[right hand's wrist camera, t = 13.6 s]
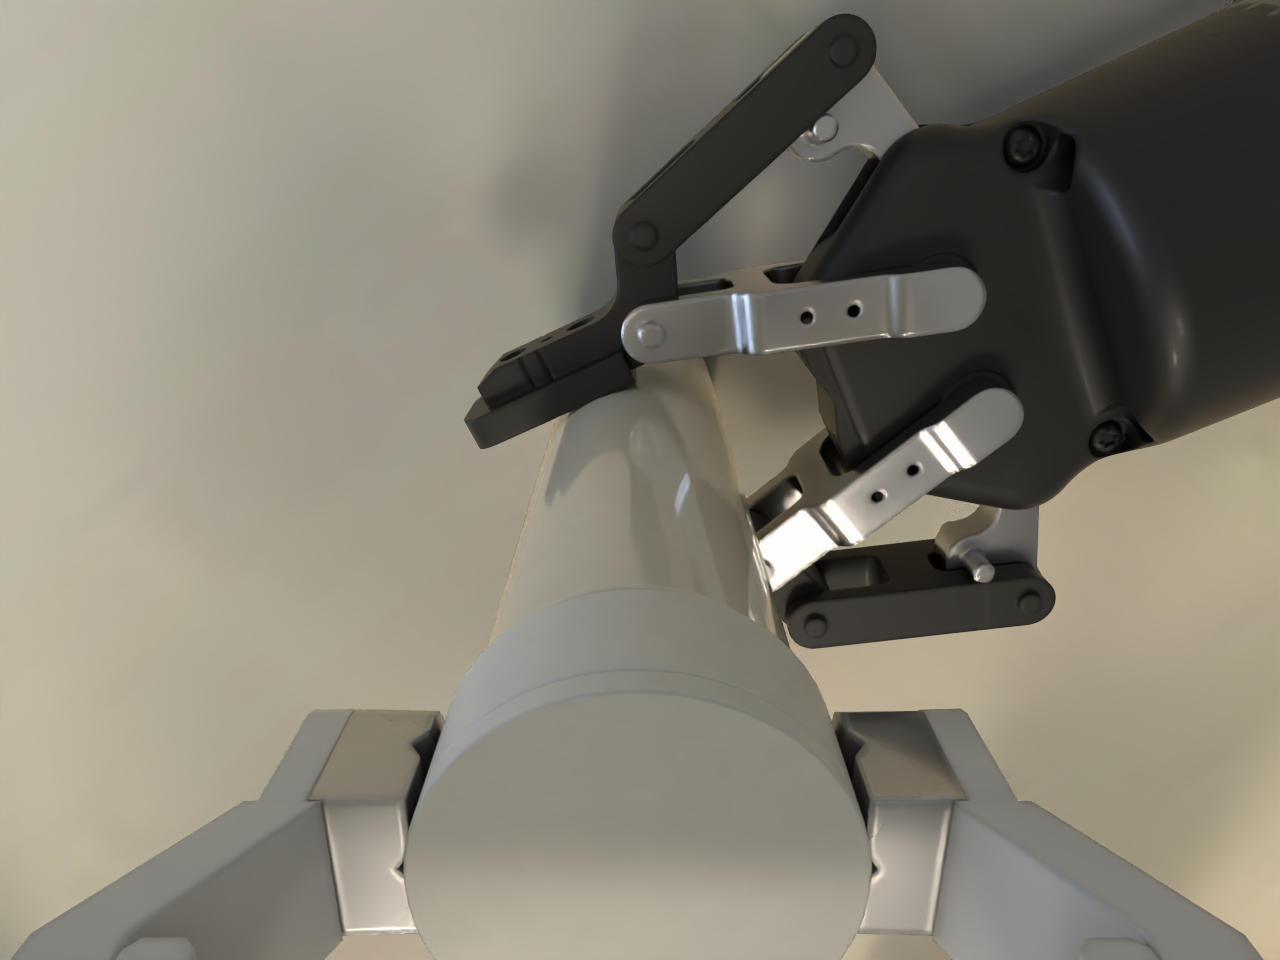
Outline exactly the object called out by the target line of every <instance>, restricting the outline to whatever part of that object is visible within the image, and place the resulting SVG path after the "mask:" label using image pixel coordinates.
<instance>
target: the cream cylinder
mask: <svg viewBox="0 0 1280 960" xmlns="http://www.w3.org/2000/svg"><path fill="white" fill-rule="evenodd" d="M634 589H648V590H660V591H671V592H676V593H681V594H686V595H691V596H696V597H700V598H703V599H706V600H709V601H712V602H715V603H718V604H721V605H724V606H726V607H728V608H730V609H732V610H734V611H736V612H738V613H740V614H742V615H744V616H747V617H748V618H750V619H752V620H753V621H755V622H756V623H758V624H759V625H761V626H762V627H764V628H765V629H767V630H768V631H770V632H771V633H772V634H773V635H775V636H776V637H777V638H778V639H779V640H780V641H782V642H783V643H784V644H785V645H786V646H787V647H789V643H788V640H787V637H786V633H785V630H784V626H783V623H782V620H781V616H780V613H779V609H778V606H777V603H776V599H775V596H774V592H773V589H772V586H771V582H770V579H769V576H768V572H767V569H766V565H765V562H764V559H763V555H762V552H761V548H760V545H759V542H758V538H757V535H756V531H755V528H754V525H753V521H752V518H751V514H750V511H749V508H748V504H747V501H746V497H745V494H744V491H743V487H742V484H741V480H740V477H739V474H738V470H737V467H736V463H735V460H734V457H733V453H732V450H731V446H730V443H729V440H728V436H727V433H726V429H725V426H724V423H723V419H722V416H721V413H720V409H719V406H718V402H717V399H716V396H715V392H714V389H713V385H712V382H711V379H710V375H709V372H708V369H707V366H706V363H705V361H704V359H703V357H702V358H694V359H687V360H680V361H673V362H666V363H659V364H644V365H642V366H640V367H637V368H636V383H633V384H631V385H629V386H627V387H624V388H622V389H620V390H618V391H615V392H613V393H611V394H609V395H607V396H604V397H601V398H598V399H596V400H594V401H592V402H590V403H588V404H586V405H584V406H582V407H580V408H577V409H575V410H573V411H571V412H568V413H566V414H564V415H562V416H559V417H557V418H556V419H555V422H554V425H553V429H552V432H551V435H550V439H549V442H548V445H547V449H546V452H545V455H544V459H543V462H542V465H541V469H540V472H539V475H538V479H537V482H536V485H535V489H534V492H533V495H532V499H531V502H530V505H529V509H528V512H527V515H526V519H525V522H524V525H523V529H522V532H521V535H520V539H519V542H518V545H517V549H516V552H515V555H514V558H513V562H512V565H511V568H510V572H509V575H508V578H507V582H506V585H505V588H504V592H503V595H502V598H501V602H500V605H499V608H498V612H497V615H496V618H495V622H494V625H493V628H492V632H491V635H490V638H489V642H488V645H487V648H488V647H489V646H490V645H491V644H492V643H493V642H494V641H495V640H496V639H497V638H498V637H500V636H501V635H502V634H504V633H505V632H506V631H508V630H509V629H510V628H512V627H513V626H514V625H516V624H517V623H519V622H521V621H523V620H525V619H526V618H528V617H530V616H532V615H534V614H535V613H537V612H539V611H541V610H543V609H546V608H548V607H551V606H553V605H556V604H558V603H561V602H563V601H566V600H570V599H573V598H577V597H581V596H585V595H588V594H593V593H600V592H607V591H614V590H634ZM487 648H486V649H487ZM789 648H790V647H789Z"/></svg>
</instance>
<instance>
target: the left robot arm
mask: <svg viewBox="0 0 1280 960" xmlns="http://www.w3.org/2000/svg"><path fill="white" fill-rule="evenodd" d="M875 57H876V39H875V36H874V33H873V31H872V29H871V28H870V26H869V25H868V24H867V23H866V22H865V21H864V20H863V19H861V18H860V17H858V16H855V15H851V14H839V15H836V16H833V17H831V18H829V19H827V20H826V21H824V22H822V23H821V24H819V25H818V26H816V27H815V28H813V29H811V30H810V31H808V32H807V33H805V34H803V35H802V36H801V37H800V38H799V39H797V40H796V41H795V42H794V43H793V44H792V45H791V46H790V47H789V48H788V49H787V50H786V51H785V52H784V53H783V54H782V55H781V56H779V57H778V58H777V59H776V60H775V61H774V62H773V63H772V64H771V65H770V66H769V67H768V68H767V69H766V70H765V71H764V72H763V73H762V74H760V75H759V76H758V77H757V78H756V79H755V80H754V81H753V82H752V83H751V84H750V85H749V86H748V87H747V88H746V89H745V90H744V91H743V92H741V93H740V94H739V95H738V96H737V97H736V98H735V99H734V100H733V101H732V102H731V103H730V104H729V105H728V106H727V107H726V108H725V109H723V110H722V111H721V112H720V113H719V114H718V115H717V116H716V117H715V118H714V119H713V120H712V121H711V122H710V123H709V124H708V125H707V126H706V127H704V128H703V129H702V130H701V131H700V132H699V133H698V134H697V135H696V136H695V137H694V138H693V139H692V140H691V141H690V142H689V143H688V144H686V145H685V146H684V147H683V148H682V149H681V150H680V151H679V152H678V153H677V154H676V155H675V156H674V157H673V158H672V159H671V160H670V161H669V162H667V163H666V164H665V165H664V166H663V167H662V168H661V169H660V170H659V171H658V172H657V173H656V174H655V175H654V176H653V177H652V178H651V179H650V180H648V181H647V182H646V183H645V184H644V185H643V186H642V187H641V188H640V189H639V190H638V191H637V192H636V193H635V194H634V195H633V196H632V197H630V198H629V199H628V200H627V201H626V202H625V203H624V204H623V205H622V207H621V208H620V210H619V211H618V214H617V217H616V220H615V223H614V227H613V233H612V239H613V244H614V250H615V262H616V273H617V291H616V293H615V295H614V296H613V298H612V299H611V301H610V302H609V303H608V304H607V305H606V306H604V307H603V308H601V309H600V310H598V311H596V312H593V313H591V314H589V315H587V316H585V317H583V318H581V319H578V320H576V321H574V322H572V323H570V324H568V325H565V326H563V327H561V328H559V329H557V330H555V331H552V332H550V333H548V334H546V335H544V336H542V337H539V338H537V339H535V340H533V341H531V342H529V343H527V344H524V345H522V346H520V347H518V348H516V349H514V350H511V351H509V352H507V353H505V354H503V355H502V356H501V358H500V359H499V360H498V361H497V362H496V363H495V364H494V365H493V366H492V367H491V369H490V370H489V371H488V372H487V374H486V375H485V377H484V378H483V380H482V381H481V383H480V384H479V386H478V387H477V388H478V390H479V392H480V394H481V395H482V397H480V398H479V399H478V400H477V401H475V403H474V404H473V406H472V407H471V409H470V411H469V412H468V414H467V415H466V417H465V419H464V421H465V423H466V425H467V426H468V428H469V430H470V432H471V434H472V435H473V437H474V439H475V441H476V443H477V444H478V446H479V448H480V449H485V448H489V447H492V446H494V445H497V444H499V443H501V442H503V441H506V440H508V439H510V438H512V437H515V436H517V435H519V434H521V433H524V432H526V431H528V430H530V429H533V428H535V427H537V426H539V425H542V424H544V423H546V422H548V421H551V420H553V419H555V418H557V417H559V416H562V415H564V414H566V413H568V412H571V411H573V410H575V409H577V408H580V407H582V406H584V405H586V404H588V403H590V402H592V401H594V400H596V399H598V398H601V397H604V396H607V395H609V394H611V393H613V392H615V391H618V390H620V389H622V388H624V387H627V386H629V385H631V384H633V383H636V368H637V367H640V366H642V365H644V364H659V363H666V362H673V361H680V360H687V359H694V358H702V357H709V356H716V355H723V354H730V353H743V354H748V355H766V354H774V353H781V352H788V351H796V353H797V354H798V355H799V357H800V358H801V359H802V361H803V362H804V364H805V365H806V366H807V368H808V369H809V370H810V372H811V373H812V374H813V376H814V377H815V378H816V382H817V392H818V402H819V412H820V414H821V417H822V419H823V422H824V424H825V427H826V428H824V429H823V430H822V431H821V432H819V433H818V434H817V435H816V436H814V437H813V438H812V439H810V440H809V441H808V442H807V443H805V444H804V445H803V446H802V447H800V448H799V449H798V450H797V451H796V452H795V453H794V454H793V456H792V457H791V459H790V460H789V463H788V465H787V466H786V468H785V469H784V470H783V471H782V472H781V473H779V474H778V475H777V476H775V477H774V478H773V479H772V480H770V481H769V482H768V483H766V484H765V485H764V486H763V487H761V488H760V489H759V490H757V491H756V492H755V493H754V494H752V495H751V496H750V497H749V498H747V499H746V501H747V504H748V508H749V511H750V514H751V518H752V521H753V525H754V528H755V531H756V535H757V538H758V542H759V545H760V548H761V552H762V555H763V559H764V562H765V565H766V569H767V572H768V576H769V579H770V582H771V586H772V589H773V592H774V596H775V599H776V603H777V606H778V609H779V613H780V616H781V619H782V620H783V621H784V622H785V623H786V624H787V627H788V630H789V633H790V636H791V638H792V639H793V640H794V641H795V642H796V643H797V644H799V645H800V646H802V647H805V648H811V649H815V648H825V647H834V646H843V645H852V644H861V643H870V642H879V641H888V640H897V639H906V638H915V637H924V636H932V635H941V634H950V633H959V632H968V631H977V630H986V629H995V628H1004V627H1013V626H1022V625H1030V624H1034V623H1037V622H1039V621H1041V620H1042V619H1044V618H1045V617H1046V616H1047V615H1048V614H1049V613H1050V612H1051V610H1052V609H1053V607H1054V604H1055V598H1056V596H1055V591H1054V589H1053V587H1052V586H1051V585H1050V584H1049V583H1048V581H1047V580H1046V579H1045V578H1044V577H1043V576H1042V575H1041V573H1040V571H1039V570H1038V568H1037V546H1038V517H1039V505H1041V504H1043V503H1045V502H1047V501H1049V500H1050V499H1052V498H1053V497H1055V496H1056V495H1057V494H1058V493H1059V492H1060V491H1061V490H1062V489H1063V488H1064V487H1065V486H1066V485H1067V484H1068V483H1069V482H1070V481H1071V480H1072V479H1073V478H1074V477H1075V476H1076V475H1077V474H1078V473H1080V472H1081V471H1082V470H1084V469H1085V468H1086V467H1088V466H1089V465H1091V464H1092V463H1094V462H1095V461H1097V460H1099V459H1102V458H1104V457H1107V456H1110V455H1114V454H1119V453H1123V452H1127V451H1132V450H1136V449H1141V448H1146V447H1151V446H1155V445H1159V444H1162V443H1165V442H1168V441H1171V440H1174V439H1176V438H1179V437H1181V436H1184V435H1186V434H1189V433H1191V432H1194V431H1196V430H1199V429H1201V428H1204V427H1206V426H1209V425H1211V424H1214V423H1216V422H1219V421H1221V420H1224V419H1226V418H1229V417H1232V416H1234V415H1237V414H1239V413H1242V412H1244V411H1247V410H1249V409H1252V408H1254V407H1257V406H1259V405H1262V404H1264V403H1267V402H1269V401H1272V400H1274V399H1277V398H1279V397H1280V0H1234V1H1233V2H1232V4H1231V5H1229V6H1228V7H1226V8H1224V9H1222V10H1220V11H1218V12H1216V13H1214V14H1211V15H1209V16H1207V17H1205V18H1203V19H1201V20H1199V21H1196V22H1194V23H1192V24H1190V25H1188V26H1186V27H1184V28H1181V29H1179V30H1177V31H1175V32H1173V33H1171V34H1169V35H1166V36H1164V37H1162V38H1160V39H1158V40H1155V41H1153V42H1151V43H1149V44H1147V45H1145V46H1143V47H1140V48H1138V49H1136V50H1134V51H1132V52H1130V53H1128V54H1125V55H1123V56H1121V57H1119V58H1117V59H1115V60H1113V61H1110V62H1108V63H1106V64H1104V65H1102V66H1100V67H1098V68H1095V69H1093V70H1091V71H1089V72H1087V73H1085V74H1083V75H1080V76H1078V77H1076V78H1074V79H1072V80H1070V81H1068V82H1065V83H1063V84H1061V85H1059V86H1057V87H1055V88H1053V89H1050V90H1048V91H1046V92H1044V93H1042V94H1040V95H1038V96H1035V97H1033V98H1031V99H1029V100H1027V101H1025V102H1023V103H1020V104H1018V105H1016V106H1014V107H1012V108H1010V109H1008V110H1005V111H1003V112H1001V113H999V114H997V115H995V116H993V117H990V118H988V119H985V120H983V121H980V122H976V123H973V124H968V125H963V126H956V125H948V124H932V125H917V124H916V122H915V121H914V120H913V118H912V117H911V116H910V114H909V113H908V111H907V110H906V109H905V107H904V106H903V105H902V103H901V102H900V101H899V99H898V98H897V96H896V95H895V94H894V92H893V91H892V90H891V88H890V87H889V85H888V84H887V83H886V81H885V80H884V79H883V77H882V76H881V74H880V73H879V72H878V70H877V69H876V68H875V66H874V65H873V64H874V61H875ZM849 148H855V149H857V150H859V151H861V152H862V153H864V154H865V155H866V156H867V157H868V158H869V159H868V160H867V162H866V164H865V165H864V167H863V168H862V170H861V172H860V173H859V175H858V176H857V178H856V180H855V181H854V183H853V185H852V186H851V188H850V189H849V191H848V193H847V194H846V196H845V198H844V199H843V201H842V202H841V204H840V206H839V207H838V209H837V211H836V212H835V214H834V215H833V217H832V219H831V220H830V222H829V224H828V225H827V227H826V228H825V230H824V232H823V233H822V235H821V236H820V238H819V240H818V241H817V243H816V245H815V246H814V248H813V249H812V251H811V253H810V254H809V256H808V258H807V259H802V260H795V261H788V262H781V263H774V264H768V265H761V266H754V267H747V268H741V269H735V270H731V271H728V272H726V273H724V274H720V275H716V276H709V277H702V278H695V279H688V280H682V281H677V266H676V249H677V248H678V247H679V246H681V245H682V244H683V243H684V242H685V241H686V240H687V239H688V238H689V237H690V236H691V235H693V234H694V233H695V232H696V231H697V230H698V229H699V228H700V227H701V226H702V225H704V224H705V223H706V222H707V221H708V220H709V219H710V218H711V217H712V216H713V215H715V214H716V213H717V212H718V211H719V210H720V209H721V208H722V207H723V206H724V205H725V204H727V203H728V202H729V201H730V200H731V199H732V198H733V197H734V196H735V195H736V194H738V193H739V192H740V191H741V190H742V189H743V188H744V187H745V186H746V185H747V184H748V183H750V182H751V181H752V180H753V179H754V178H755V177H756V176H757V175H758V174H759V173H761V172H762V171H763V170H764V169H765V168H766V167H767V166H768V165H769V164H770V163H772V162H773V161H774V160H775V159H776V158H777V157H778V156H779V155H780V154H781V153H782V152H784V151H785V150H786V151H787V152H788V153H789V154H790V155H791V156H793V157H794V158H796V159H799V160H803V161H811V162H821V161H825V160H827V159H829V158H831V157H833V156H834V155H836V154H837V153H839V152H841V151H843V150H845V149H849ZM874 492H875V493H874ZM925 494H927V495H932V496H938V497H943V498H948V499H954V500H959V501H964V502H969V503H975V504H980V505H979V507H978V508H977V510H976V511H975V512H974V513H972V514H971V515H970V516H968V517H966V518H964V519H960V520H956V521H949V522H946V523H944V524H943V525H942V526H941V528H940V531H939V533H938V534H937V536H936V538H935V539H929V540H921V541H912V542H903V543H895V544H886V545H878V546H869V547H860V548H852V549H843V550H835V551H830V550H832V549H833V548H835V547H838V546H852V545H855V544H857V543H859V542H861V541H862V540H864V539H865V538H867V537H868V536H869V535H871V534H872V533H873V532H875V531H876V530H877V529H879V528H880V527H882V526H883V525H884V524H886V523H887V522H888V521H890V520H891V519H892V518H894V517H895V516H896V515H898V514H899V513H901V512H902V511H903V510H905V509H906V508H907V507H909V506H910V505H911V504H913V503H914V502H915V501H917V500H918V499H920V498H921V497H922V496H924V495H925Z"/></svg>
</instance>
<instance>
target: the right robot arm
mask: <svg viewBox="0 0 1280 960" xmlns="http://www.w3.org/2000/svg"><path fill="white" fill-rule="evenodd" d="M443 725H444V717H443V716H442V714H441V713H440V711H413V710H366V709H358V710H357V711H356V710H354V709H316V710H314V711H312V712H310V713H309V714H308V715H307V716H306V717H305V719H304V721H303V723H302V724H301V726H300V728H299V729H298V731H297V733H296V735H295V736H294V738H293V740H292V741H291V743H290V745H289V747H288V748H287V750H286V752H285V753H284V755H283V757H282V759H281V760H280V762H279V764H278V765H277V767H276V769H275V771H274V772H273V774H272V776H271V777H270V779H269V781H268V783H267V784H266V786H265V788H264V789H263V791H262V793H261V795H260V796H259V798H258V800H257V801H243V802H242V803H240V804H238V805H237V806H235V807H234V808H232V809H230V810H229V811H227V812H226V813H224V814H222V815H221V816H219V817H218V818H216V819H214V820H213V821H211V822H210V823H208V824H206V825H205V826H203V827H201V828H200V829H198V830H197V831H195V832H193V833H192V834H190V835H189V836H187V837H185V838H184V839H182V840H181V841H179V842H177V843H176V844H174V845H173V846H171V847H169V848H168V849H166V850H164V851H163V852H161V853H160V854H158V855H156V856H155V857H153V858H152V859H150V860H148V861H147V862H145V863H144V864H142V865H140V866H139V867H137V868H136V869H134V870H132V871H131V872H129V873H127V874H126V875H124V876H123V877H121V878H119V879H118V880H116V881H115V882H113V883H111V884H110V885H108V886H107V887H105V888H103V889H102V890H100V891H99V892H97V893H95V894H94V895H92V896H90V897H89V898H87V899H86V900H84V901H82V902H81V903H79V904H78V905H76V906H74V907H73V908H71V909H70V910H68V911H66V912H65V913H63V914H62V915H60V916H58V917H57V918H55V919H53V920H52V921H50V922H49V923H47V924H45V925H44V926H42V927H41V928H39V929H37V930H36V931H34V932H33V933H31V934H30V935H29V937H28V938H27V939H26V941H25V942H24V943H23V944H22V946H21V947H20V948H19V950H18V951H17V952H16V954H15V955H14V956H13V957H12V959H11V960H324V959H325V958H326V957H327V956H328V955H329V954H330V953H331V952H332V951H333V950H334V948H335V947H336V946H337V945H338V944H339V943H340V942H341V941H342V936H347V935H381V934H415V933H418V931H417V929H416V927H415V924H414V921H413V918H412V915H411V912H410V909H409V906H408V902H407V897H406V891H405V885H404V851H405V845H406V839H407V834H408V830H409V827H410V824H411V821H412V818H413V815H414V812H415V809H416V806H417V803H418V800H419V797H420V794H421V791H422V788H423V785H424V782H425V779H426V776H427V773H428V770H429V767H430V764H431V761H432V758H433V755H434V752H435V749H436V746H437V743H438V740H439V737H440V734H441V731H442V728H443ZM832 725H833V728H834V731H835V734H836V737H837V740H838V743H839V746H840V749H841V752H842V755H843V759H844V762H845V765H846V768H847V771H848V774H849V777H850V780H851V783H852V786H853V789H854V792H855V795H856V799H857V801H858V804H859V807H860V810H861V813H862V816H863V820H864V823H865V827H866V831H867V834H868V838H869V842H870V850H871V861H872V875H871V887H870V894H869V898H868V902H867V906H866V910H865V914H864V917H863V920H862V922H861V924H860V926H859V929H858V931H857V933H858V934H893V935H928V936H933V940H934V941H935V942H936V943H937V944H938V945H939V946H940V947H941V949H942V950H943V951H944V952H945V953H946V954H947V955H948V956H949V957H950V958H951V959H952V960H1263V958H1262V957H1261V956H1260V954H1259V953H1258V952H1257V951H1256V949H1255V948H1254V947H1253V945H1252V944H1251V943H1250V941H1249V940H1248V939H1247V937H1246V936H1245V935H1244V934H1242V933H1241V932H1239V931H1238V930H1236V929H1234V928H1233V927H1231V926H1230V925H1228V924H1226V923H1225V922H1223V921H1222V920H1220V919H1218V918H1217V917H1215V916H1214V915H1212V914H1210V913H1209V912H1207V911H1206V910H1204V909H1202V908H1201V907H1199V906H1198V905H1196V904H1194V903H1193V902H1191V901H1190V900H1188V899H1187V898H1185V897H1183V896H1182V895H1180V894H1179V893H1177V892H1175V891H1174V890H1172V889H1171V888H1169V887H1167V886H1166V885H1164V884H1163V883H1161V882H1159V881H1158V880H1156V879H1155V878H1153V877H1151V876H1150V875H1148V874H1147V873H1145V872H1143V871H1142V870H1140V869H1139V868H1137V867H1135V866H1134V865H1132V864H1131V863H1129V862H1128V861H1126V860H1124V859H1123V858H1121V857H1120V856H1118V855H1116V854H1115V853H1113V852H1112V851H1110V850H1108V849H1107V848H1105V847H1104V846H1102V845H1100V844H1099V843H1097V842H1096V841H1094V840H1092V839H1091V838H1089V837H1088V836H1086V835H1084V834H1083V833H1081V832H1080V831H1078V830H1076V829H1075V828H1073V827H1072V826H1070V825H1069V824H1067V823H1065V822H1064V821H1062V820H1061V819H1059V818H1057V817H1056V816H1054V815H1053V814H1051V813H1049V812H1048V811H1046V810H1045V809H1043V808H1041V807H1040V806H1038V805H1037V804H1035V803H1033V802H1032V801H1018V799H1017V798H1016V796H1015V794H1014V793H1013V791H1012V789H1011V787H1010V786H1009V784H1008V782H1007V781H1006V779H1005V777H1004V775H1003V774H1002V772H1001V770H1000V769H999V767H998V765H997V763H996V762H995V760H994V758H993V757H992V755H991V753H990V751H989V750H988V748H987V746H986V745H985V743H984V741H983V739H982V738H981V736H980V734H979V733H978V731H977V729H976V727H975V726H974V724H973V722H972V721H971V719H970V717H969V715H968V714H967V713H966V712H965V711H963V710H961V709H933V710H918V711H884V712H834V715H833V719H832Z"/></svg>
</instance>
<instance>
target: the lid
mask: <svg viewBox="0 0 1280 960" xmlns="http://www.w3.org/2000/svg"><path fill="white" fill-rule="evenodd" d="M871 875H872V861H871V850H870V842H869V838H868V834H867V831H866V827H865V823H864V820H863V816H862V813H861V810H860V807H859V804H858V801H857V799H856V795H855V792H854V789H853V786H852V783H851V780H850V777H849V774H848V771H847V768H846V765H845V762H844V759H843V755H842V752H841V749H840V746H839V743H838V740H837V737H836V734H835V731H834V728H833V725H832V722H831V719H830V716H829V713H828V710H827V707H826V704H825V702H824V700H823V697H822V695H821V693H820V691H819V688H818V686H817V684H816V683H815V681H814V680H813V678H812V676H811V675H810V673H809V672H808V670H807V669H806V667H805V666H804V664H803V663H802V662H801V661H800V660H799V659H798V658H797V656H796V655H795V654H794V653H793V652H792V651H791V650H790V648H789V647H787V646H786V645H785V644H784V643H783V642H782V641H780V640H779V639H778V638H777V637H776V636H775V635H773V634H772V633H771V632H770V631H768V630H767V629H765V628H764V627H762V626H761V625H759V624H758V623H756V622H755V621H753V620H752V619H750V618H748V617H747V616H744V615H742V614H740V613H738V612H736V611H734V610H732V609H730V608H728V607H726V606H724V605H721V604H718V603H715V602H712V601H709V600H706V599H703V598H700V597H696V596H691V595H686V594H681V593H676V592H671V591H660V590H648V589H634V590H614V591H607V592H600V593H593V594H588V595H585V596H581V597H577V598H573V599H570V600H566V601H563V602H561V603H558V604H556V605H553V606H551V607H548V608H546V609H543V610H541V611H539V612H537V613H535V614H534V615H532V616H530V617H528V618H526V619H525V620H523V621H521V622H519V623H517V624H516V625H514V626H513V627H512V628H510V629H509V630H508V631H506V632H505V633H504V634H502V635H501V636H500V637H498V638H497V639H496V640H495V641H494V642H493V643H492V644H491V645H490V646H489V647H488V648H487V649H486V650H485V651H484V652H483V653H482V654H481V655H480V656H479V657H478V658H477V659H476V661H475V662H474V663H473V665H472V666H471V667H470V669H469V670H468V671H467V673H466V674H465V676H464V677H463V679H462V681H461V683H460V685H459V687H458V688H457V690H456V692H455V694H454V696H453V699H452V702H451V705H450V708H449V710H448V713H447V716H446V719H445V722H444V725H443V728H442V731H441V734H440V737H439V740H438V743H437V746H436V749H435V752H434V755H433V758H432V761H431V764H430V767H429V770H428V773H427V776H426V779H425V782H424V785H423V788H422V791H421V794H420V797H419V800H418V803H417V806H416V809H415V812H414V815H413V818H412V821H411V824H410V827H409V830H408V834H407V839H406V845H405V851H404V885H405V891H406V897H407V902H408V906H409V909H410V912H411V915H412V918H413V921H414V924H415V927H416V929H417V931H418V933H419V935H420V936H421V938H422V940H423V942H424V944H425V946H426V948H427V949H428V951H429V952H430V953H431V955H432V956H433V958H434V959H435V960H841V959H842V957H843V956H844V954H845V953H846V951H847V949H848V948H849V946H850V944H851V943H852V941H853V940H854V938H855V936H856V933H857V931H858V929H859V926H860V924H861V922H862V920H863V917H864V914H865V910H866V906H867V902H868V898H869V894H870V887H871Z"/></svg>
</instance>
